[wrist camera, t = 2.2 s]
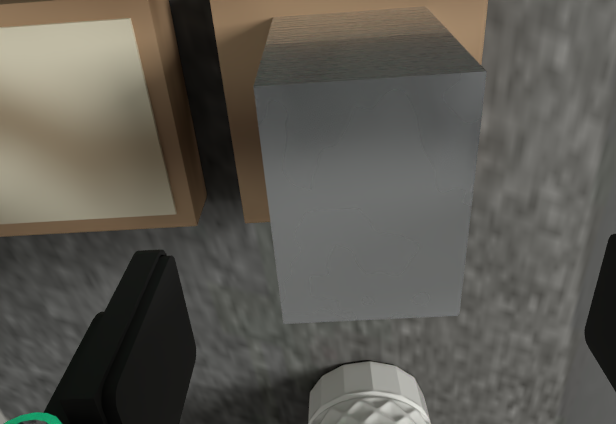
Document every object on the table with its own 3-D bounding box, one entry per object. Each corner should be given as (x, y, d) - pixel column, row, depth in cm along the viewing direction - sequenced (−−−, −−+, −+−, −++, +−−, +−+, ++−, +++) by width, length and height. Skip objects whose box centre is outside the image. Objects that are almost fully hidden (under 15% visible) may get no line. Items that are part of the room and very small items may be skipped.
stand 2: (219, -23, 19) (207, -11, 17) (470, -42, 19) (491, -32, 17) (250, 192, 24) (244, 223, 22) (451, 181, 23) (465, 211, 21)
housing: (273, 17, 17) (253, 87, 11) (425, 6, 17) (486, 71, 11) (291, 199, 21) (283, 323, 15) (417, 192, 21) (459, 315, 15)
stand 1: (-75, -1, 19) (-126, 14, 17) (164, -19, 19) (145, -6, 17) (13, 206, 24) (-17, 239, 22) (207, 195, 24) (196, 227, 22)
